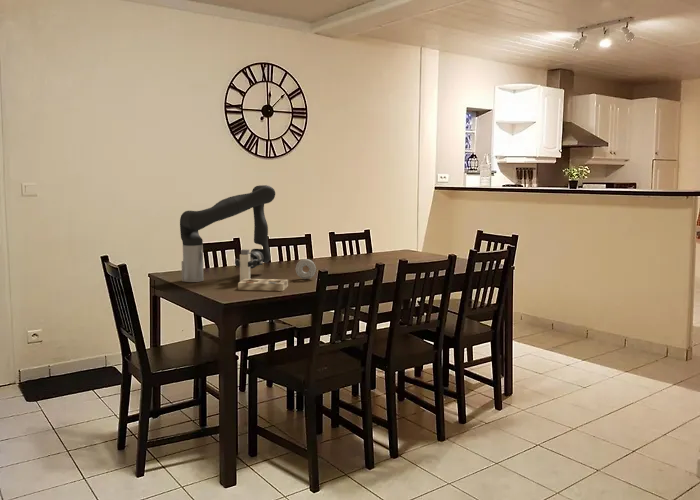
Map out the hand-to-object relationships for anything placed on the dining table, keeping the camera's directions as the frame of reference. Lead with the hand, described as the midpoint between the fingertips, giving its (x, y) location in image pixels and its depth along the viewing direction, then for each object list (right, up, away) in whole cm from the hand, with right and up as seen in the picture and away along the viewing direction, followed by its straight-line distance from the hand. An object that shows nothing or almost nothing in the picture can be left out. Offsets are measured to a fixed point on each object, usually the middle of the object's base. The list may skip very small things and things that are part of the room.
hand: (243, 264), depth 290 cm
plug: (0, -8, +4) cm, 9 cm away
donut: (+27, -8, +17) cm, 33 cm away
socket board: (+10, -10, -8) cm, 17 cm away
